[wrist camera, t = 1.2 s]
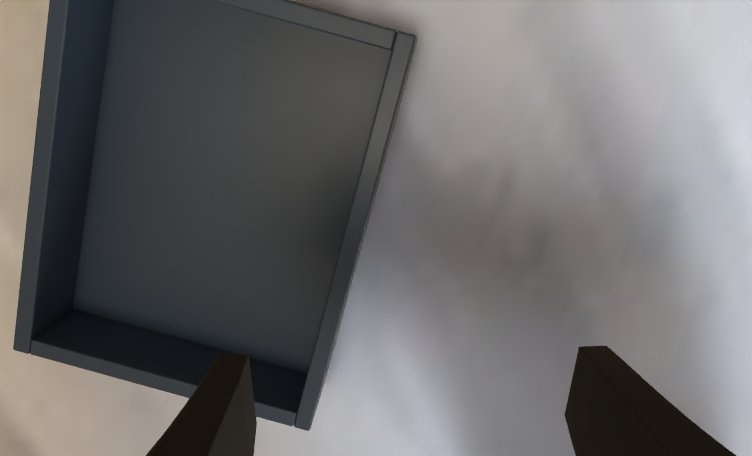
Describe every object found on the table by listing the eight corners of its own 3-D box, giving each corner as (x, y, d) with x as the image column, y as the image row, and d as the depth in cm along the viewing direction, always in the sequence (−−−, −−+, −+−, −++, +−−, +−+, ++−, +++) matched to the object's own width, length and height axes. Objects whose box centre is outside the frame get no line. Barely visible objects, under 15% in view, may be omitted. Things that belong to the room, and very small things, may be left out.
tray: (417, 37, 22) (416, 35, 18) (323, 384, 26) (309, 432, 22) (109, -48, 22) (55, -64, 18) (63, 312, 26) (12, 350, 22)
